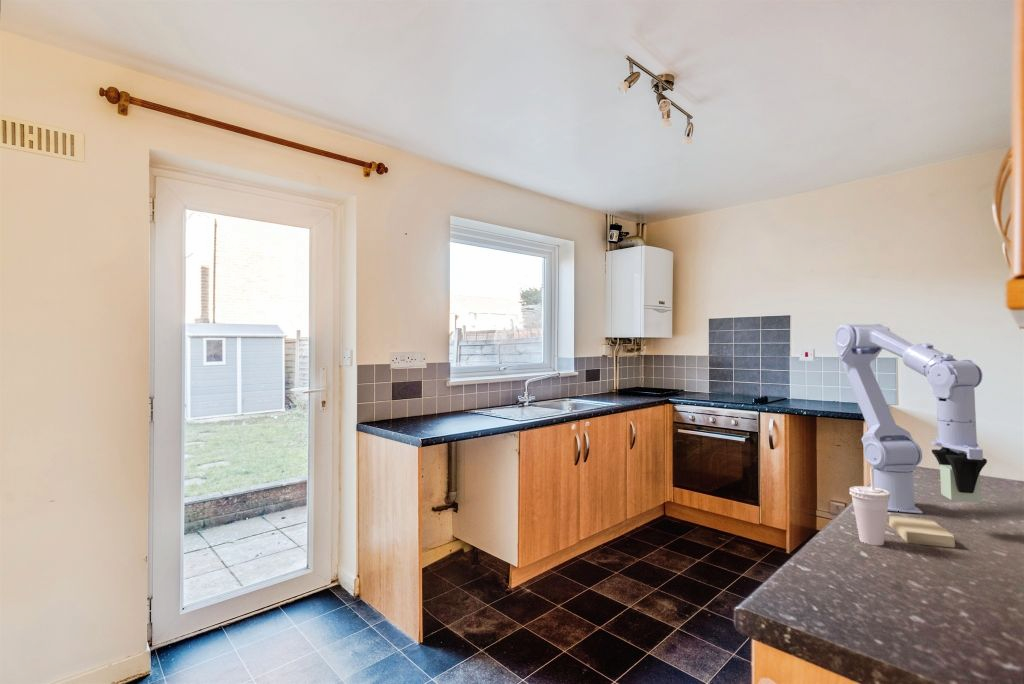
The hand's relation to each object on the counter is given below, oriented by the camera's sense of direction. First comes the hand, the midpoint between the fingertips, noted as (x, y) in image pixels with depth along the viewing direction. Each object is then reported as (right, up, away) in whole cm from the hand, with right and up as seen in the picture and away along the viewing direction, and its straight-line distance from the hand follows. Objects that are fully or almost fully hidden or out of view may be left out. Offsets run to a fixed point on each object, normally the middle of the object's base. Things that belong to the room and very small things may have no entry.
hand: (959, 489), depth 96 cm
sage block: (0, -2, 0) cm, 2 cm away
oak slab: (-10, -9, -2) cm, 13 cm away
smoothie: (-21, -9, -4) cm, 23 cm away
